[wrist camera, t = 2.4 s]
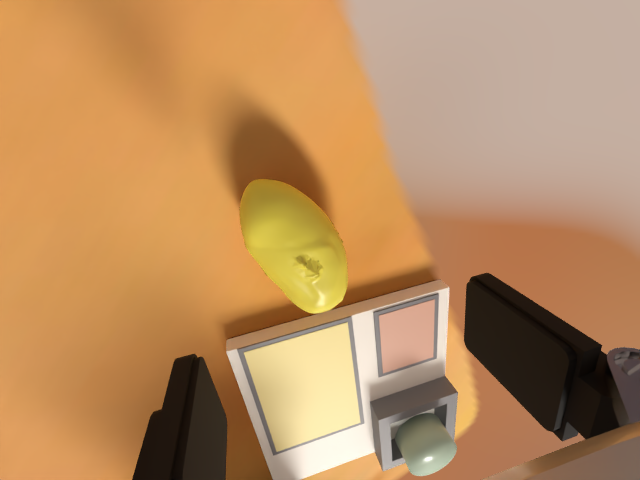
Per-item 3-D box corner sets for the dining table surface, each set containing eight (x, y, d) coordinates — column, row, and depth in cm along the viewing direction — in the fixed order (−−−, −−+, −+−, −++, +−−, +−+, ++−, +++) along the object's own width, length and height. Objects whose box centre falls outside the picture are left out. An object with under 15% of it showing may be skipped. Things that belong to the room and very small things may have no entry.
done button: (394, 423, 22) (408, 451, 20) (440, 406, 23) (458, 432, 21) (395, 453, 24) (409, 482, 22) (438, 437, 24) (455, 464, 23)
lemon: (290, 304, 19) (304, 350, 15) (217, 188, 15) (213, 215, 12) (352, 271, 19) (379, 310, 16) (294, 148, 15) (313, 163, 12)
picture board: (226, 339, 19) (225, 372, 16) (440, 279, 21) (464, 300, 19) (274, 474, 25) (278, 511, 22) (435, 415, 27) (453, 444, 25)
